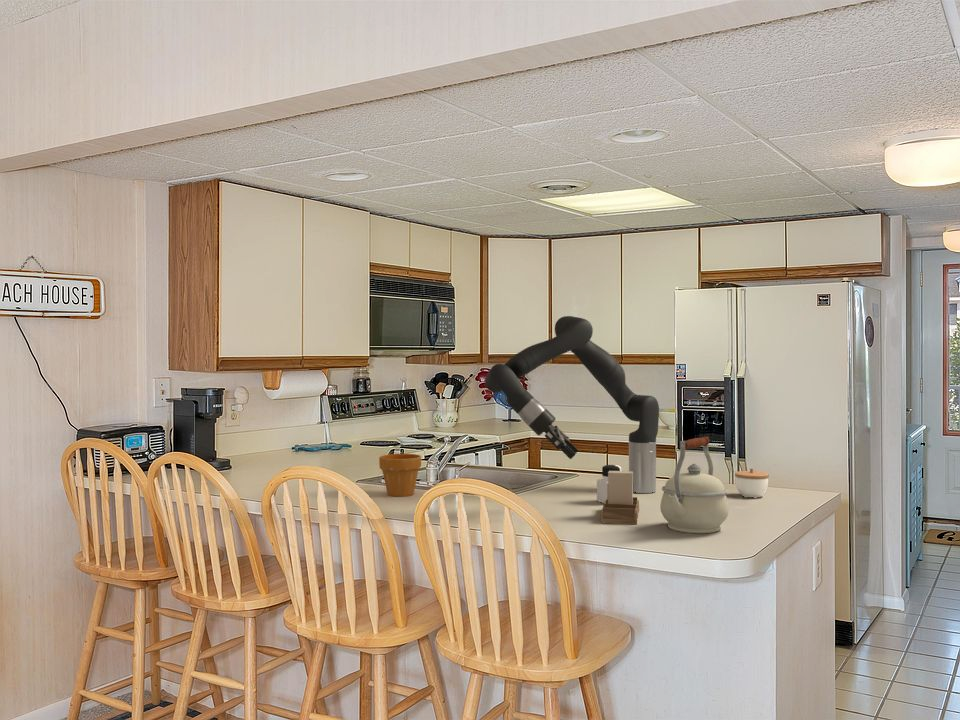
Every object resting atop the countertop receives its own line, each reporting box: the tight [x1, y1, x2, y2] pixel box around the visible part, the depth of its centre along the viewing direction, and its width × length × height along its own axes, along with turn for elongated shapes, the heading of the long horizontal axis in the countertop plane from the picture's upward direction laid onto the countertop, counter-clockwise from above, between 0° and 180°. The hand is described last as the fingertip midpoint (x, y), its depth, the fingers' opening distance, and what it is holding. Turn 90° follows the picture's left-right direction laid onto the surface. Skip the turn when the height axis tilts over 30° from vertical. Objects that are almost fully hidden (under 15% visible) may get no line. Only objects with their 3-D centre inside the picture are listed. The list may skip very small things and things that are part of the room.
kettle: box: [659, 436, 730, 534], centre depth 235 cm, size 25×18×25 cm
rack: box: [600, 496, 640, 525], centre depth 253 cm, size 20×10×4 cm, turn 168°
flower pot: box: [378, 453, 422, 498], centre depth 290 cm, size 14×14×13 cm
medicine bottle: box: [596, 464, 622, 504], centre depth 275 cm, size 7×7×12 cm
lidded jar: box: [734, 467, 769, 498], centre depth 286 cm, size 11×11×9 cm
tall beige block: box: [608, 470, 634, 505], centre depth 252 cm, size 4×7×12 cm, turn 77°
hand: (574, 454), depth 257 cm, fingers open, 8 cm apart
